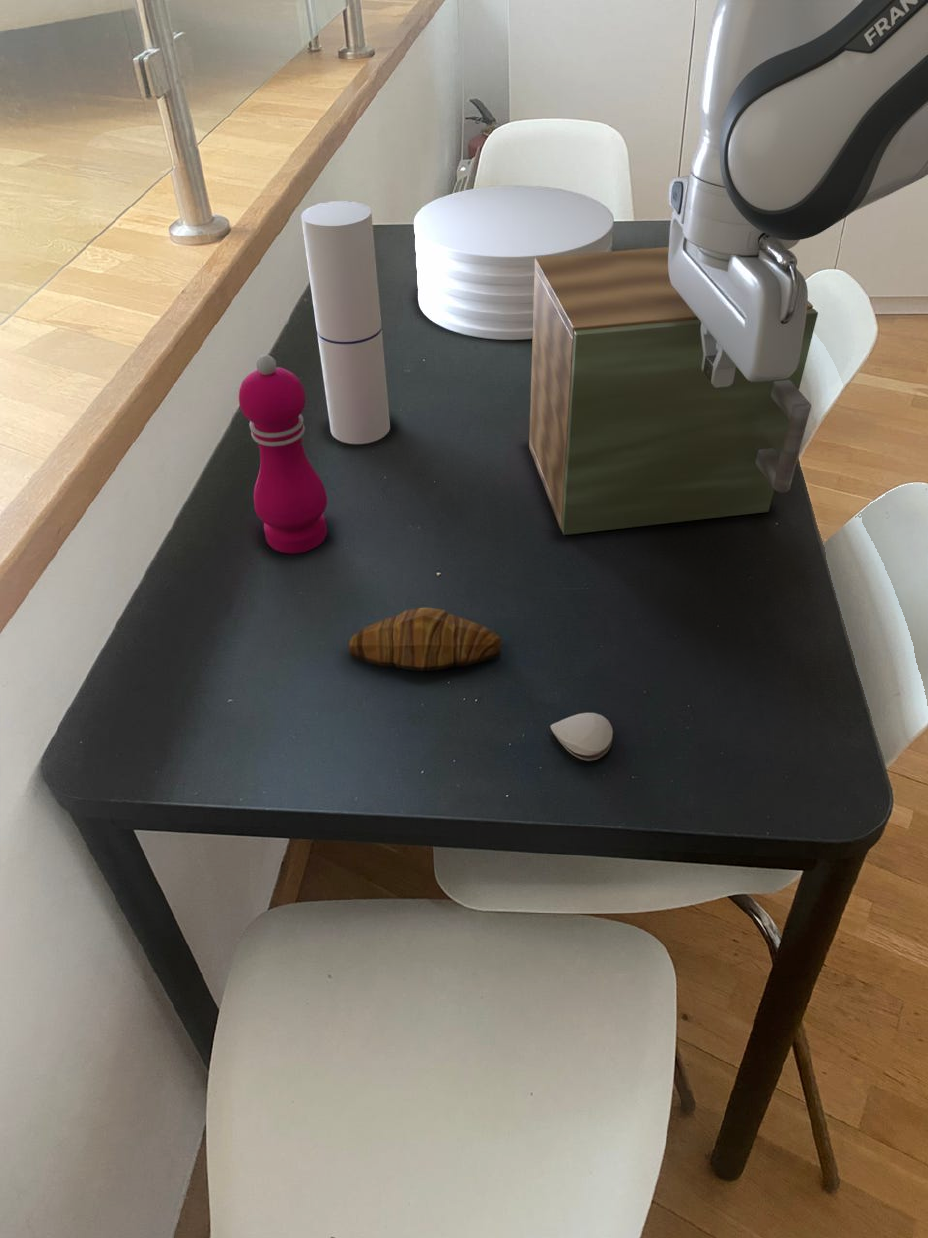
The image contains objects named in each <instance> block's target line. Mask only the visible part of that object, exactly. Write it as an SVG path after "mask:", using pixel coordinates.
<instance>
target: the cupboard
mask: <svg viewBox="0 0 928 1238" xmlns="http://www.w3.org/2000/svg"><path fill="white" fill-rule="evenodd" d="M668 251H669V246H663V247H652V248H636V249H626V250H625V249H624V250H614V251H613V250H611V252H600V253H588V254H576V255H564V256H552V257H540V258H535V275H534V308H533V339H531V340H532V342H531V343H532V345H531V346H532V347H531V351H532V352H531V375H530V378H531V379H530V409H529V410H530V411H529V412H530V413H529V438H528V439H529V441H528V443H529V444H528V448H529V450H530V454H531V456H532V459H533V461H534V464H535V466H536V469H537V473H538V475H539V477H540V479H541V481H542V482H541V483H542V485H543V487H544V489H545V492H546V495H547V497H548V500H549V503H550V506H551V508H552V510H553V513H554V516H555V518H556V521H557V523H558V526H559V529H560V530H561V531H562V514H563V498H564V482H565V466H566V450H567V434H568V418H569V402H570V386H571V370H572V354H573V338H574V331H576V330H587V329H598V328H609V327H620V326H631V325H642V324H653V323H664V322H675V321H686V320H697V319H698V317H697V316H696V315H695V314H694V312H693V311H692V310H691V308H690V307H689V306H688V305H687V303H686V302H685V301H684V300H683V298H682V297H681V296H680V295H679V293H678V292H677V291H676V290H675V288H674V287H673V286H672V285H671V282H670V278H669V271H668ZM807 309H814V305H813V304H812V303H811V302H810V301H809V300H808V304H807Z"/></svg>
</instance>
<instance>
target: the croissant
mask: <svg viewBox="0 0 928 1238" xmlns="http://www.w3.org/2000/svg"><path fill="white" fill-rule="evenodd" d="M502 647H503V644H502V642H501V638H500V636H499V634H497V633H495V632H494V631H492V630H491V629H489V628H487V627H486V626H484V625H482V624H480V623H477V622H474V621H472V620H469V619H466V618H464V617H460V616H457V615H456V616H455V615H453V614H451V613H449V612H448V611H446V610H444V609H440V608H432V607H425V606H424V607H419V608H410V609H406V610H404V611H403V612H401V613H400V614H398V615H396V616H392V617H388V618H385V619H382V620H380V621H377V622H375V623H372V624H370V625H368V626H365V627H364V628H363V629H361V630H359V631H358V632H356V633H355V634H353V635H352V636H351V638H350V640H349V644H348V650H349V653H350V655H351V657H352V658H354V659H356V660H359V661H361V662H365V663H367V664H372V665H375V666H379V667H383V668H399V669H402V670H405V671H416V672H432V671H441V670H446V669H449V668H454V667H455V668H464V667H468V666H472V665H476V664H481V663H485V662H487V661H490V660H493V659H496V658H498V657H499V656H500V653H501V651H502Z"/></svg>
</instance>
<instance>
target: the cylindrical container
mask: <svg viewBox="0 0 928 1238" xmlns="http://www.w3.org/2000/svg"><path fill="white" fill-rule="evenodd" d="M372 215H373V214H372V209H371V207H369V206H368V205H367V204H364V203H361V202H357V201H349V200H348V201H347V200H337V201H336V200H335V201H334V200H333V201H328V202H327V201H326V202H321V203H316V204H314V205H312V206H311V205H310V206H309V207H307V208H306V209H304V210H303V211H302V212H301V213H300V218H301V225H302V226H301V227H302V233H303V240H304V241H303V242H304V247H305V255H306V262H307V269H308V277H309V284H310V290H311V299H312V305H313V311H314V319H315V320H314V321H315V326H316V327H315V328H316V334H317V341H318V349H319V356H320V357H319V358H320V364H321V371H322V378H323V385H324V393H325V400H326V406H327V407H326V408H327V415H328V421H329V429H330V433H331V435H332V437H333V438H334V439H336V440H337V441H339V442H341V443H344V444H349V445H364V444H370V443H374V442H377V441H380V440H381V439H383V438H384V437H385V436H386V435H388V434H389V432H390V430H391V422H390V421H391V420H390V411H389V397H388V388H387V387H388V385H387V375H386V363H385V353H384V351H385V350H384V340H383V328H382V317H381V307H380V306H381V305H380V296H379V295H380V294H379V293H380V292H379V284H378V283H379V282H378V271H377V261H376V248H375V238H374V237H375V236H374V226H373V217H372Z"/></svg>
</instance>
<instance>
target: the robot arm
mask: <svg viewBox="0 0 928 1238" xmlns="http://www.w3.org/2000/svg"><path fill="white" fill-rule="evenodd" d="M698 111H699V117H700V133H699V140H698V144H697V147H696V149H695V152H694V154H693V156H692V160H691V164H690V169H689V175H683V176H682V175H681V176H676V177H672V179H671V180H670V182H669V183H670V184H669V189H668V204H669V206H670V207H671V208H672V209H673V210H672V213H671V218H670V223H669V224H670V225H669V236H668V237H669V238H668V247H669V251H668V271H669V278H670V282H671V285H672V286H673V287H674V288H675V290H676V291H677V292H678V293H679V295H680V296H681V297H682V298H683V300H684V301H685V302H686V303H687V305H688V306H689V307H690V308H691V310H692V311H693V312H694V314H695V315H696V316H697V317H698V319H699V320H700V321H701V338H702V347H703V353H704V354H703V361H702V367H701V369H702V371H703V372H704V373H705V375H706V376H707V377H708V379H709V380H710V382H711V383H712V385H713V386H714V387H716V388H719V387H728V386H730V385H731V384H732V383H733V380H734V375H735V369H736V367H738V369H739V370H740V371H741V372H742V374H743V375H744V376H745V378H746V379H747V380H749V381H751V382H763V381H773V380H781V379H786V378H788V377H790V376H791V375H792V374H793V373H794V371H795V370H796V369H797V366H798V363H799V359H800V353H801V347H802V342H803V335H804V328H805V321H806V314H807V304H808V301H809V299H808V298H809V292H808V291H809V290H808V285H807V281H806V279H805V277H804V275H803V273H801V272H800V271H799V270H798V268H797V265H798V258H797V257H796V255H795V253H794V252H792V251H791V250H790V249H792V248H794V247H795V246H796V245H798V243H799V242H800V241H801V240H806V239H809V238H812V237H814V236H817V235H820V234H821V233H823V232H825V231H827V230H828V229H830V228H831V227H832V226H834V225H836V224H838V223H839V222H841V221H843V220H844V219H845V218H847V217H848V216H849V215H851V214H852V213H854V212H856V211H858V210H861V209H862V208H864V207H866V206H868V205H871V204H873V203H876V202H877V201H879V200H881V199H883V198H886V197H887V196H890V195H892V194H893V193H895V192H898V191H900V190H901V189H904V188H905V187H907V186H910V185H912V184H913V183H915V182H917V181H919V180H922V179H924V178H925V177H927V176H928V0H718V1H717V3H716V6H715V9H714V14H713V17H712V21H711V26H710V30H709V34H708V40H707V45H706V50H705V57H704V62H703V69H702V75H701V82H700V89H699V99H698Z"/></svg>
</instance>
